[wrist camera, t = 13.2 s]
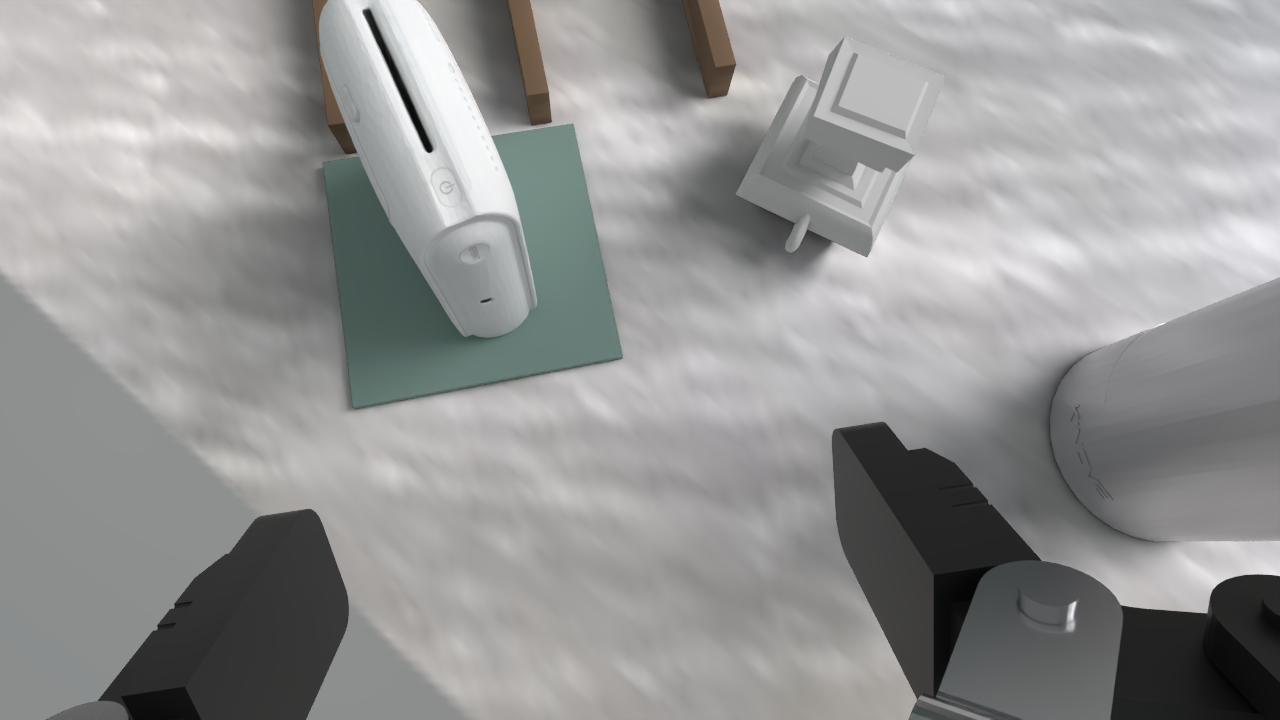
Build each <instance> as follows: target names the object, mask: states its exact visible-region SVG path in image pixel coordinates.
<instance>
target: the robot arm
mask: <svg viewBox="0 0 1280 720" xmlns="http://www.w3.org/2000/svg"><path fill="white" fill-rule="evenodd" d="M1050 439H1051V443H1052V447H1053V451H1054V455H1055V460H1056V462H1057V464H1058V466H1059V469H1060V471H1061V473H1062V475H1063V477H1064V480H1065V481H1066V483H1067V484H1068V486H1069V487H1070V488H1071V490H1072V491H1073V493H1074V494H1075V496H1076V497H1077V499H1078V500H1079V501H1080V502H1081V503H1082V504H1083V505H1084V506H1085V507H1086V508H1087V509H1088V510H1089V511H1090V512H1091V513H1092V514H1093V515H1095V516H1096V517H1098V518H1099V519H1100V520H1102V521H1103V522H1105V523H1106V524H1108V525H1109V526H1111V527H1112V528H1114V529H1116V530H1118V531H1121V532H1123V533H1125V534H1128V535H1130V536H1132V537H1136V538H1141V539H1145V540H1150V541H1280V278H1277V279H1275V280H1272V281H1270V282H1267V283H1265V284H1262V285H1260V286H1257V287H1255V288H1252V289H1250V290H1247V291H1245V292H1242V293H1240V294H1237V295H1234V296H1232V297H1229V298H1227V299H1224V300H1222V301H1219V302H1217V303H1214V304H1212V305H1209V306H1207V307H1204V308H1202V309H1199V310H1197V311H1194V312H1192V313H1189V314H1187V315H1184V316H1182V317H1179V318H1177V319H1174V320H1172V321H1169V322H1167V323H1164V324H1161V325H1158V326H1156V327H1153V328H1151V329H1148V330H1146V331H1143V332H1141V333H1138V334H1136V335H1133V336H1131V337H1128V338H1126V339H1123V340H1121V341H1118V342H1116V343H1113V344H1111V345H1108V346H1106V347H1103V348H1101V349H1099V350H1097V351H1094V352H1092V353H1090V354H1088V355H1086V356H1085V357H1084V358H1082V359H1081V360H1080V361H1078V362H1077V363H1076V364H1075V365H1073V366H1072V367H1071V369H1070V370H1069V371H1068V373H1067V374H1066V375H1065V376H1064V378H1063V379H1062V380H1061V382H1060V385H1059V387H1058V389H1057V391H1056V394H1055V396H1054V398H1053V403H1052V409H1051V414H1050ZM832 453H833V471H834V488H835V506H836V520H837V526H838V532H839V536H840V541H841V544H842V547H843V550H844V553H845V556H846V558H847V560H848V562H849V564H850V566H851V568H852V570H853V572H854V574H855V576H856V578H857V580H858V582H859V584H860V586H861V588H862V590H863V592H864V594H865V596H866V598H867V600H868V602H869V604H870V606H871V608H872V610H873V612H874V614H875V616H876V618H877V620H878V622H879V624H880V626H881V628H882V630H883V632H884V634H885V636H886V638H887V640H888V642H889V644H890V646H891V648H892V650H893V652H894V654H895V656H896V658H897V660H898V662H899V664H900V666H901V668H902V670H903V672H904V674H905V676H906V678H907V680H908V682H909V684H910V686H911V688H912V690H913V692H914V694H915V696H916V698H917V702H916V703H915V705H914V708H913V710H912V712H911V715H910V717H909V720H1280V576H1274V575H1243V576H1238V577H1233V578H1230V579H1227V580H1225V581H1223V582H1221V583H1220V584H1218V585H1217V586H1216V587H1215V588H1214V589H1213V591H1212V593H1211V596H1210V601H1209V607H1208V613H1207V614H1205V613H1192V612H1179V611H1166V610H1153V609H1142V608H1133V607H1127V606H1122V605H1120V603H1119V602H1118V600H1117V598H1116V597H1115V596H1114V595H1113V593H1112V592H1111V591H1110V590H1109V589H1108V588H1107V587H1105V586H1104V585H1103V584H1102V583H1100V582H1099V581H1097V580H1096V579H1094V578H1093V577H1091V576H1089V575H1087V574H1085V573H1083V572H1081V571H1078V570H1076V569H1073V568H1070V567H1068V566H1064V565H1060V564H1056V563H1051V562H1045V561H1041V559H1040V558H1039V557H1038V556H1037V555H1036V554H1035V553H1034V552H1033V550H1032V549H1031V548H1030V547H1029V546H1028V545H1027V544H1026V543H1025V541H1024V540H1023V539H1022V538H1021V537H1020V536H1019V535H1018V534H1017V533H1016V531H1015V530H1014V529H1013V528H1012V527H1011V526H1010V525H1009V524H1008V522H1007V521H1006V520H1005V519H1004V518H1003V517H1002V516H1001V515H1000V513H999V512H998V511H997V510H996V509H995V508H994V507H993V506H992V505H989V504H988V500H987V499H986V498H985V497H984V496H983V494H982V493H981V492H980V491H979V490H978V489H977V488H976V487H975V488H974V487H973V483H972V482H971V481H970V480H969V479H968V478H967V476H966V475H965V474H964V473H963V472H962V471H961V470H960V469H959V467H958V466H957V465H956V464H955V463H953V462H952V461H950V460H948V459H946V458H944V457H942V456H940V455H938V454H936V453H934V452H932V451H930V450H928V449H926V448H922V449H915V450H909V451H908V450H907V449H906V448H905V446H904V445H903V444H902V443H901V441H900V440H899V439H898V438H897V436H896V435H895V434H894V433H893V431H892V430H891V429H890V428H889V426H888V425H887V424H886V423H884V422H877V423H871V424H864V425H858V426H852V427H845V428H839V429H835V430H834V431H833V435H832ZM174 605H175V608H174V609H170V610H169V611H168V613H167V614H166V615H165V617H164V618H163V619H162V620H161V621H160V623H159V624H158V625H157V626H158V630H156V631H153V632H152V633H151V634H150V635H149V637H148V638H147V639H146V640H145V642H144V643H143V644H142V645H141V647H140V648H139V649H138V651H137V652H136V653H135V654H134V656H133V657H132V658H131V659H130V661H129V662H128V663H127V664H126V666H125V667H124V668H123V669H122V671H121V672H120V673H119V675H118V676H117V677H116V679H115V680H114V681H113V682H112V683H111V685H110V686H109V687H108V689H107V690H106V691H105V692H104V694H103V695H102V696H101V697H100V699H99V700H98V701H96V702H90V703H86V704H82V705H78V706H75V707H73V708H70V709H67V710H65V711H62V712H60V713H58V714H56V715H54V716H52V717H50V718H48V719H46V720H306V718H307V716H308V714H309V711H310V709H311V707H312V705H313V703H314V701H315V698H316V696H317V694H318V692H319V689H320V687H321V685H322V683H323V681H324V678H325V676H326V674H327V671H328V669H329V667H330V665H331V663H332V661H333V658H334V656H335V654H336V651H337V649H338V647H339V645H340V643H341V640H342V638H343V636H344V634H345V631H346V628H347V623H348V615H349V605H348V596H347V592H346V588H345V585H344V583H343V580H342V577H341V574H340V572H339V569H338V566H337V563H336V561H335V558H334V555H333V552H332V549H331V547H330V544H329V541H328V538H327V536H326V533H325V530H324V527H323V525H322V522H321V520H320V518H319V516H318V515H317V514H316V512H314V511H313V510H311V509H305V510H298V511H292V512H285V513H279V514H272V515H266V516H260V517H258V518H257V519H255V521H254V522H253V523H252V524H251V525H250V527H249V528H248V529H247V531H246V532H245V533H244V535H243V536H242V537H241V539H240V540H239V541H238V543H237V544H236V545H235V547H234V548H233V549H232V551H231V552H230V553H229V554H225V555H224V556H223V557H221V558H220V559H219V560H217V561H216V562H215V563H214V564H212V565H211V566H210V567H208V568H207V569H206V570H205V571H203V572H202V573H201V574H199V575H198V576H197V577H196V578H194V580H193V581H192V582H191V583H190V585H189V586H188V587H187V589H186V590H185V591H184V592H183V594H182V595H181V596H180V598H179V599H178V600H177V601H176V602H175V604H174Z"/></svg>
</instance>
